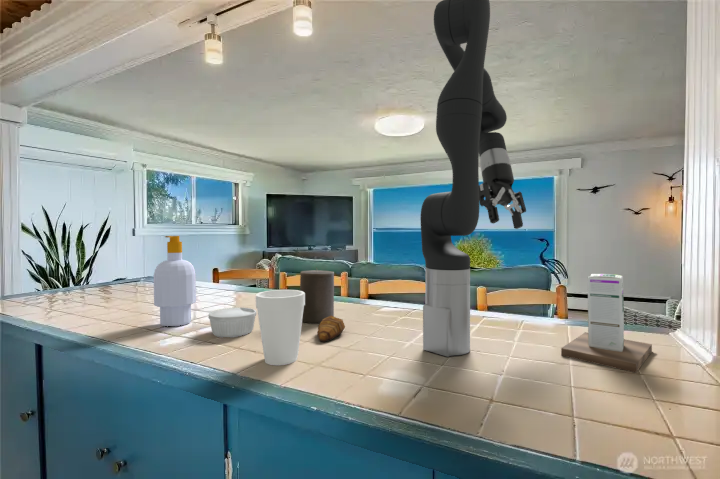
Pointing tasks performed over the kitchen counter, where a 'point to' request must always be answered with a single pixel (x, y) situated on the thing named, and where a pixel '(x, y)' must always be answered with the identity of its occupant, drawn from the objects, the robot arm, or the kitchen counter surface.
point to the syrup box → (606, 312)
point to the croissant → (330, 328)
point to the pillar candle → (317, 295)
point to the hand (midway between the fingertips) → (507, 225)
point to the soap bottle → (174, 286)
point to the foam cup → (280, 324)
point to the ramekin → (232, 321)
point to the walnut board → (609, 353)
